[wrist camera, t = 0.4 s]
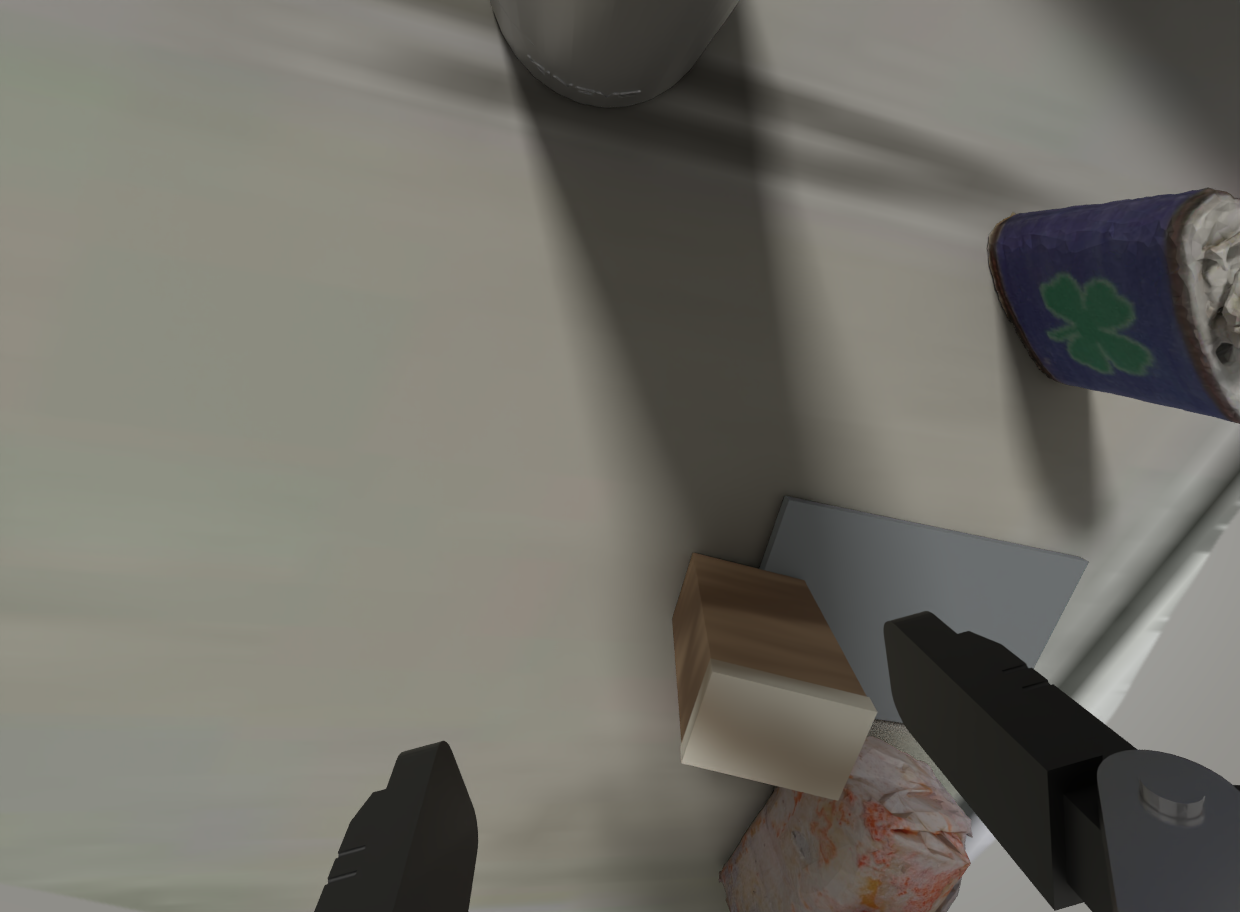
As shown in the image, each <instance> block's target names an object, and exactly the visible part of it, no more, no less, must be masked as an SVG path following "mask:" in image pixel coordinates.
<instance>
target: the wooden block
mask: <svg viewBox="0 0 1240 912" xmlns="http://www.w3.org/2000/svg"><path fill="white" fill-rule="evenodd" d="M672 622H673V636H674V649H675V663H676V676H677V689H678V703H679V716H680V729H681V746H680V752H681V763H683V764H687V765H691V766H695V767H700V768H704V769H708V770H712V771H716V772H720V773H725V774H729V775H733V776H737V777H741V778H745V779H749V780H754V781H758V782H762V783H766V784H770V785H774V786H779V787H783V788H787V789H791V790H795V791H799V792H804V793H808V794H812V795H816V796H820V797H824V798H828V799H833V800H837V801H838V800H839V798H840V796H841V793H842V791H843V789H844V787H845V784H846V782H847V780H848V778H849V775H850V773H851V771H852V769H853V766H854V764H855V762H856V760H857V757H858V755H859V753H860V751H861V748H862V746H863V744H864V742H865V739H866V737H867V735H868V733H869V730H870V728H871V726H872V724H873V721H874V719H875V717H876V715H877V710H876V708H875V707H874V705H873V703H872V701H871V699H870V697H867V696H866V694H865V692H864V690H863V688H862V687H861V685H860V683H859V681H858V679H857V677H856V675H855V674H854V672H853V670H852V668H851V666H850V664H849V662H848V661H847V659H846V657H845V655H844V653H843V651H842V649H841V647H840V646H839V644H838V642H837V640H836V638H835V636H834V634H833V633H832V631H831V629H830V627H829V625H828V623H827V621H826V620H825V618H824V616H823V614H822V612H821V610H820V608H819V607H818V605H817V603H816V601H815V599H814V597H813V595H812V594H811V592H810V590H809V588H808V586H807V584H806V582H805V580H802V579H798V578H794V577H790V576H786V575H782V574H778V573H774V572H770V571H766V570H762V569H758V568H754V567H750V566H746V565H742V564H738V563H734V562H729V561H725V560H721V559H717V558H713V557H709V556H705V555H701V554H697V553H692V557H691V560H690V563H689V566H688V569H687V573H686V576H685V579H684V582H683V585H682V589H681V592H680V595H679V598H678V602H677V605H676V608H675V611H674V614H673V618H672Z"/></svg>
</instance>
